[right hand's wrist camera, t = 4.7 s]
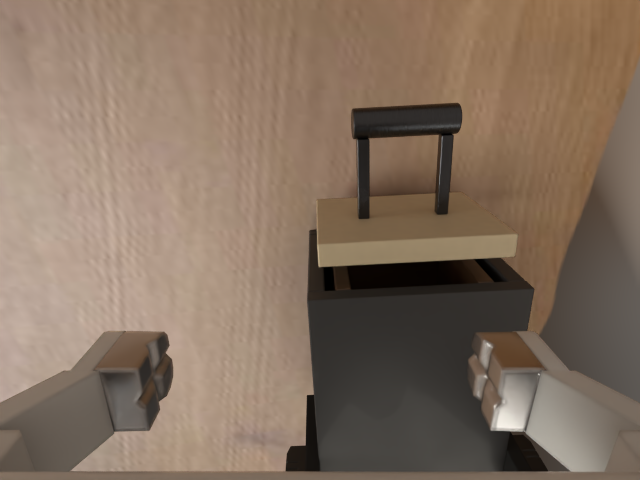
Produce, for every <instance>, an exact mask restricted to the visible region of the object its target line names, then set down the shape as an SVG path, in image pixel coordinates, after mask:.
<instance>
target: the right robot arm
mask: <svg viewBox="0 0 640 480" xmlns="http://www.w3.org/2000/svg"><path fill="white" fill-rule="evenodd" d="M169 346H170V345H169V340H168V336H167V334H166V333H165V332H148V331H127V332H126V331H107V332H104V333H103V334H102V335H101V336H100V337H99V339H98V340H97V341H96V342H95V343H94V344H93V345H92V347H91V348H90V349H89V350H88V351H87V352H86V353H85V355H84V356H83V357H82V358H81V359H80V360H79V361H78V362H77V364H76V365H75V366H74V367H73V368H72V369H71V370H70V371H63V372H61V373H59V374H57V375H55V376H53V377H51V378H49V379H47V380H45V381H43V382H41V383H39V384H37V385H35V386H33V387H31V388H29V389H27V390H25V391H23V392H21V393H19V394H17V395H15V396H13V397H11V398H9V399H7V400H5V401H3V402H1V403H0V480H640V403H639V402H637V401H635V400H633V399H631V398H629V397H627V396H625V395H623V394H621V393H619V392H617V391H615V390H613V389H611V388H609V387H607V386H605V385H603V384H601V383H599V382H597V381H595V380H593V379H591V378H589V377H587V376H585V375H583V374H581V373H579V372H577V371H570V370H569V369H568V368H567V367H566V366H565V365H564V364H563V362H562V361H561V360H560V359H559V358H558V357H557V356H556V355H555V353H554V352H553V351H552V350H551V349H550V348H549V347H548V345H547V344H546V343H545V342H544V341H543V340H542V339H541V338H540V336H539V335H538V334H537V333H535V332H533V331H513V332H474V334H473V336H472V340H471V345H470V346H471V347H472V349H473V351H474V354H473V355H472V356H471V357H470V358H469V359H468V364H467V379H468V384H469V387H470V390H471V392H472V394H473V396H474V397H476V398H477V399H478V400H480V401H481V406H480V410H481V412H482V414H483V416H484V418H485V420H486V422H487V424H488V426H489V428H490V430H491V431H525V432H526V434H527V435H528V436H530V437H531V438H532V439H533V440H534V441H536V442H537V443H538V444H539V445H540V446H541V447H543V448H544V449H545V450H546V451H547V452H549V453H550V454H551V455H552V456H553V457H554V458H556V459H557V460H558V461H559V462H560V463H562V464H563V465H564V466H565V467H566V468H568V469H569V470H570V471H571V472H294V471H228V472H82V471H70V470H71V469H73V468H74V467H75V466H76V465H77V464H79V463H80V462H81V461H82V460H83V459H84V458H86V457H87V456H88V455H89V454H90V453H92V452H93V451H94V450H95V449H96V448H98V447H99V446H100V445H101V444H102V443H103V442H105V441H106V440H107V439H108V438H109V437H111V436H112V435H113V434H114V432H115V431H149V430H150V428H151V426H152V424H153V422H154V420H155V418H156V416H157V414H158V412H159V410H160V406H159V401H160V400H162V399H163V398H164V397H166V396H167V394H168V392H169V390H170V388H171V383H172V379H173V363H172V359H171V358H170V357H169V356H168V355H167V354H166V351H167V349H168V347H169Z"/></svg>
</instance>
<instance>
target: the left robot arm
mask: <svg viewBox="0 0 640 480" xmlns="http://www.w3.org/2000/svg"><path fill="white" fill-rule="evenodd" d="M286 471H294V472H320V467H319V455H318V442H317V428H316V414H315V400H314V395H307V416H306V446H291V447H290V449H289V451H288V453H287V459H286ZM503 472H548V470H547V468H546V467H545V465H544V463H543V462H542V460H541V458H540V457H539V455H538V453H537V452H536V451H535V448H534V447H533V445H532V443H531V442H530V441H529V440H528V439H527V438H526V437H525V436H524V435H512V434H511V432H510V434H509V440H508V446H507V452H506V457H505V463H504V469H503Z"/></svg>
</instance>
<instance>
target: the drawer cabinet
mask: <svg viewBox="0 0 640 480" xmlns="http://www.w3.org/2000/svg"><path fill="white" fill-rule="evenodd" d="M474 260H475V261H476V262H477V263H478V264H479V266H480V267H481V268H482V269H483V270H484V271H485V272H486V273H487V274H488V275H489V277H490V278H491V279H492V280H493V281H494V282H490V283H471V284H452V285H433V286H414V287H394V288H375V289H356V290H337V291H332V275H331V267H319V266H318V249H317V230H310V231H309V263H308V293H307V304H308V318H309V332H310V345H311V359H312V373H313V387H314V400H315V414H316V428H317V442H318V455H319V467H320V472H503V469H504V463H505V457H506V452H507V446H508V440H509V434H510V431H491V430H490V428H489V426H488V424H487V422H486V420H485V418H484V416H483V414H482V412H481V410H480V406H481V401H480V400H478V399H477V398H476V397H474V396H473V394H472V392H471V390H470V387H469V384H468V379H467V364H468V359H469V358H470V357H471V356H472V355H473V354H474V351H473V349H472V347H471V346H470V345H471V340H472V336H473V334H474V332H513V331H527V329H528V323H529V317H530V311H531V305H532V300H533V294H534V288H533V287H532V286H531V285H530V284H529V283H528V282H526V281H525V280H524V279H523V278H522V277H521V276H520V275H519V274H518V273H516V272H515V271H514V270H513V269H512V268H511V267H510V266H509V265H508V264H507V263H506V262H505V261H504V260H503V259H502V258H484V259H474Z"/></svg>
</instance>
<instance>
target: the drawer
mask: <svg viewBox="0 0 640 480" xmlns="http://www.w3.org/2000/svg"><path fill="white" fill-rule="evenodd" d="M461 124H462V109H461V106H460V104H459V103H446V104H427V105H409V106H391V107H373V108H355V109H352V112H351V129H352V137H353V139H356V155H357V197H355V198H337V199H318V200H316V206H317V249H318V266H319V267H331V275H332V291H337V290H356V289H375V288H394V287H414V286H433V285H452V284H471V283H490V282H494V281H493V280H492V279H491V278H490V277H489V275H488V274H487V273H486V272H485V271H484V270H483V269H482V268H481V267H480V266H479V264H478V263H477V262H476V261H475V260H474V259H484V258H503V257H515V254H516V247H517V241H518V233H517V232H515V231H514V230H513V229H511V228H510V227H508V226H507V225H506V224H504V223H503V222H502V221H500V220H499V219H498V218H496V217H495V216H494V215H492V214H491V213H489V212H488V211H487V210H485V209H484V208H483V207H481V206H480V205H479V204H477V203H476V202H475V201H473V200H472V199H471V198H469V197H468V196H466V195H465V194H464V193H462V192H450V178H451V165H452V151H453V137H454V136H453V134H456V133H458V132H459V130H460V128H461ZM422 135H439V142H438V158H437V175H436V192H435V193H430V194H411V195H393V196H374V197H370V186H369V139H368V138H386V137H404V136H422Z"/></svg>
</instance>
